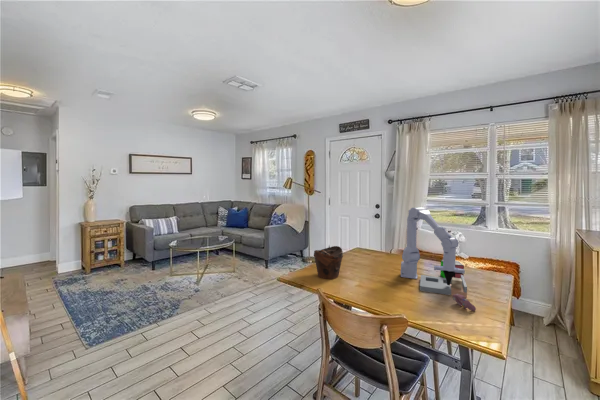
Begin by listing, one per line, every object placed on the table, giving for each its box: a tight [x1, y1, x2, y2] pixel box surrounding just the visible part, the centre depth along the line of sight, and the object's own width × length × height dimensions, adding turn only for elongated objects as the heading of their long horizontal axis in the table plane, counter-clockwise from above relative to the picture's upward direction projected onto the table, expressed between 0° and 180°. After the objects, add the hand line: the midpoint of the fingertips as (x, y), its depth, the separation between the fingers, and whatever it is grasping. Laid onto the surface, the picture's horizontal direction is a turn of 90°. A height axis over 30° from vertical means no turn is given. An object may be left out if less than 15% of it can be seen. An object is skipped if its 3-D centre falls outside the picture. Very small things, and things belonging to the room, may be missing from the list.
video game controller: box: [452, 293, 477, 312], centre depth 131 cm, size 10×5×7 cm, turn 6°
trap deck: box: [419, 274, 468, 299], centre depth 155 cm, size 22×20×6 cm
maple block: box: [451, 278, 462, 290], centre depth 149 cm, size 4×4×4 cm
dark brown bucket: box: [313, 245, 344, 280], centre depth 174 cm, size 18×20×18 cm
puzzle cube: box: [439, 259, 465, 278], centre depth 170 cm, size 10×10×10 cm
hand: (448, 284), depth 151 cm, fingers closed
